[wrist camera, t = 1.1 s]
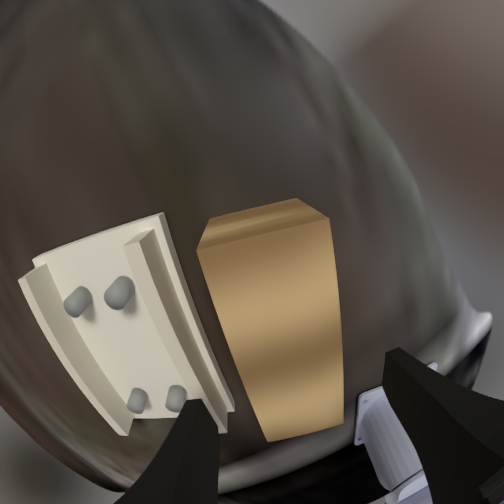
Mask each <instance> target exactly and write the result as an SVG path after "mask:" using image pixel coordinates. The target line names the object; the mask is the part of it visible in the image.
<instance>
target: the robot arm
mask: <svg viewBox="0 0 504 504" xmlns="http://www.w3.org/2000/svg"><path fill="white" fill-rule="evenodd" d="M437 366H438V365H437V364H436V363H435V362H433V363H431V364H429V365H425V364H424V363H422V362H420V361H419V360H417V359H416V358H414V357H413V356H411V355H410V354H408V353H407V352H405V351H404V350H402V349H401V348H399V347H398V348H396V349H393V350H391V351H388V352H386V354H385V364H384V372H383V380H382V386H380V387H377V388H374V389H372V390H369V391H366V392H364V393H362V394H360V395H359V397H358V408H357V419H356V429H355V438H354V443H355V445H360V444H363V443H364V444H365V446H366V449H367V451H368V454H369V456H370V459H371V461H372V464H373V466H374V469H375V472H376V474H377V477H378V479H379V481H380V483H381V484H382V486H383V487H384V488H386V489H388V490H389V491H390V493H389V494H387V495H385V496H384V498H385V501H386V503H385V504H504V401H503V400H499V399H495V398H492V397H488V396H485V395H483V394H480V393H477V392H475V391H473V390H470V389H468V388H466V387H463V386H461V385H459V384H458V383H456V382H454V381H452V380H450V379H448V378H446V377H445V376H443V375H441V374H440V373H438V372H436V370H437ZM219 453H220V445H219V432H218V425H217V424H216V422H215V420H214V419H213V417H212V416H211V414H210V412H209V410H208V409H207V407H206V405H205V404H204V402H203V400H202V398H200V399H191V400H186V401H185V403H184V405H183V407H182V409H181V411H180V413H179V415H178V417H177V419H176V421H175V423H174V425H173V427H172V428H171V430H170V432H169V434H168V436H167V437H166V439H165V441H164V443H163V444H162V446H161V448H160V449H159V451H158V452H157V454H156V455H155V457H154V458H153V460H152V461H151V463H150V464H149V466H148V467H147V468H146V470H145V471H144V472H143V474H142V475H141V476H140V477H139V478H138V480H137V481H136V482H135V483H134V484H133V485H132V486H131V487H130V488H129V490H128V491H127V492H126V493H125V494H124V495H123V496H122V497H121V498H120V499H118V500H117V501H116V502H115V503H114V504H218V473H219Z"/></svg>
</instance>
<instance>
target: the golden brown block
mask: <svg viewBox="0 0 504 504" xmlns="http://www.w3.org/2000/svg"><path fill="white" fill-rule="evenodd" d="M196 251H197V254H198V257H199V261H200V264H201V267H202V270H203V273H204V276H205V279H206V282H207V285H208V288H209V291H210V294H211V297H212V300H213V303H214V306H215V309H216V312H217V315H218V318H219V320H220V323H221V326H222V329H223V332H224V334H225V337H226V340H227V343H228V345H229V348H230V351H231V354H232V356H233V359H234V361H235V364H236V367H237V369H238V372H239V374H240V377H241V380H242V382H243V385H244V387H245V390H246V392H247V395H248V397H249V400H250V402H251V404H252V407H253V409H254V412H255V414H256V416H257V419H258V421H259V424H260V426H261V428H262V431H263V433H264V435H265V437H266V440H267V442H271V441H277V440H282V439H286V438H291V437H295V436H300V435H304V434H308V433H312V432H316V431H319V430H323V429H326V428H330V427H333V426H337V425H340V424H343V408H344V392H343V353H342V334H341V319H340V306H339V295H338V284H337V275H336V266H335V258H334V250H333V242H332V235H331V228H330V222H329V218H328V217H326V216H324V215H323V214H321V213H320V212H318V211H317V210H315V209H313V208H312V207H310V206H309V205H307V204H305V203H304V202H302V201H300V200H299V199H297V198H295V199H290V200H286V201H281V202H277V203H273V204H268V205H264V206H260V207H256V208H251V209H247V210H243V211H239V212H235V213H231V214H227V215H223V216H219V217H215V218H211V219H209V222H208V224H207V226H206V228H205V231H204V233H203V235H202V238H201V240H200V243H199V245H198V247H197V250H196Z"/></svg>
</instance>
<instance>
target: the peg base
mask: <svg viewBox="0 0 504 504" xmlns="http://www.w3.org/2000/svg"><path fill="white" fill-rule="evenodd" d="M32 260H33V263H34V265H35V269H33V270H32V271H30V272H29V273H27V274H26V275H25V276H23V277H22V278H20V279H19V280H18V281H19V284H20V286H21V288H22V291H23V293H24V295H25V297H26V299H27V302H28V304H29V306H30V308H31V310H32V312H33V314H34V316H35V318H36V320H37V322H38V323H39V325H40V327H41V329H42V331H43V333H44V334H45V336H46V338H47V340H48V341H49V343H50V345H51V346H52V348H53V350H54V351H55V353H56V354H57V356H58V358H59V359H60V361H61V362H62V364H63V365H64V367H65V368H66V370H67V371H68V373H69V374H70V375H71V377H72V378H73V380H74V381H75V382H76V384H77V385H78V387H79V388H80V389H81V391H82V392H83V393H84V394H85V396H86V397H87V398H88V400H89V401H90V402H91V403H92V405H93V406H94V407H95V408H96V409H97V411H98V412H99V413H100V414H101V415H102V416H103V418H104V419H105V420H106V421H107V422H108V423H109V424H110V425H111V427H112V428H113V429H114V430H115V431H116V432H117V433H118V434H119V435H125V436H128V434H129V431H130V427H131V424H132V421H133V418H172V417H178V415H179V413H180V411H181V409H182V407H183V405H184V403H185V401H186V400H191V399H200V398H202V400H203V402H204V404H205V405H206V407H207V409H208V410H209V412H210V414H211V416H212V417H213V419H214V420H215V422H216V424H217V425H218V432H219V433H227V412H233V411H235V401H234V399H233V397H232V394H231V392H230V390H229V388H228V386H227V383H226V381H225V379H224V376H223V374H222V372H221V370H220V367H219V365H218V363H217V360H216V358H215V355H214V353H213V351H212V348H211V346H210V343H209V341H208V338H207V336H206V333H205V331H204V328H203V326H202V323H201V320H200V318H199V315H198V313H197V310H196V307H195V305H194V302H193V299H192V296H191V294H190V291H189V288H188V285H187V282H186V280H185V277H184V274H183V271H182V268H181V265H180V262H179V259H178V256H177V253H176V250H175V247H174V244H173V241H172V237H171V234H170V231H169V228H168V224H167V221H166V218H165V214H164V212H162V213H159V214H156V215H152V216H149V217H146V218H142V219H139V220H136V221H133V222H130V223H127V224H123V225H120V226H117V227H114V228H111V229H108V230H105V231H102V232H99V233H97V234H94V235H91V236H88V237H85V238H82V239H80V240H77V241H74V242H71V243H69V244H66V245H63V246H61V247H58V248H55V249H53V250H50V251H48V252H45V253H43V254H40V255H39V256H37V257H36V258H34V259H32Z"/></svg>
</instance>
